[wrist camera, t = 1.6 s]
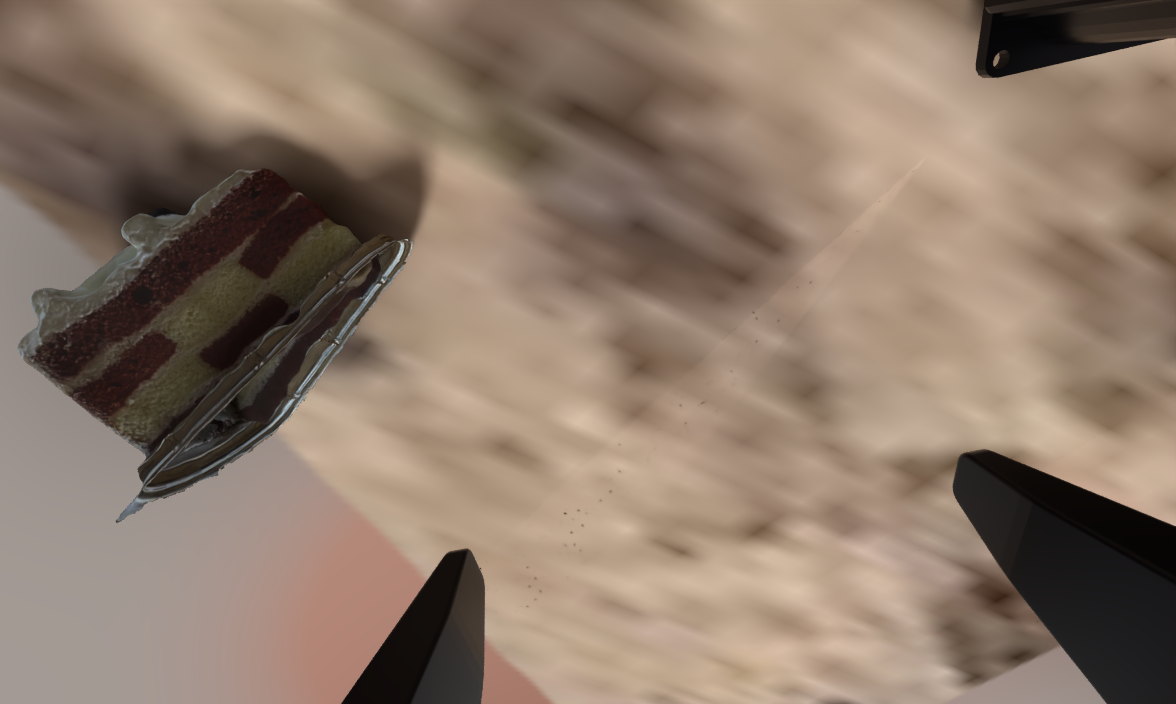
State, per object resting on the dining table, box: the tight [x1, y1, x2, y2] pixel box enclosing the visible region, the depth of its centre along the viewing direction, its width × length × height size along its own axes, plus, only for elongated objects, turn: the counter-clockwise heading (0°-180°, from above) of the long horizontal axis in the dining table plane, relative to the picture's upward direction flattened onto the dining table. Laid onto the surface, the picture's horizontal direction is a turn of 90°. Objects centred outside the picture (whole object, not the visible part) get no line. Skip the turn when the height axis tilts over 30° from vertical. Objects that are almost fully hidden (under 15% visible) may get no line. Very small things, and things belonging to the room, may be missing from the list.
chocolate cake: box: [17, 169, 413, 523], centre depth 18 cm, size 10×7×12 cm
